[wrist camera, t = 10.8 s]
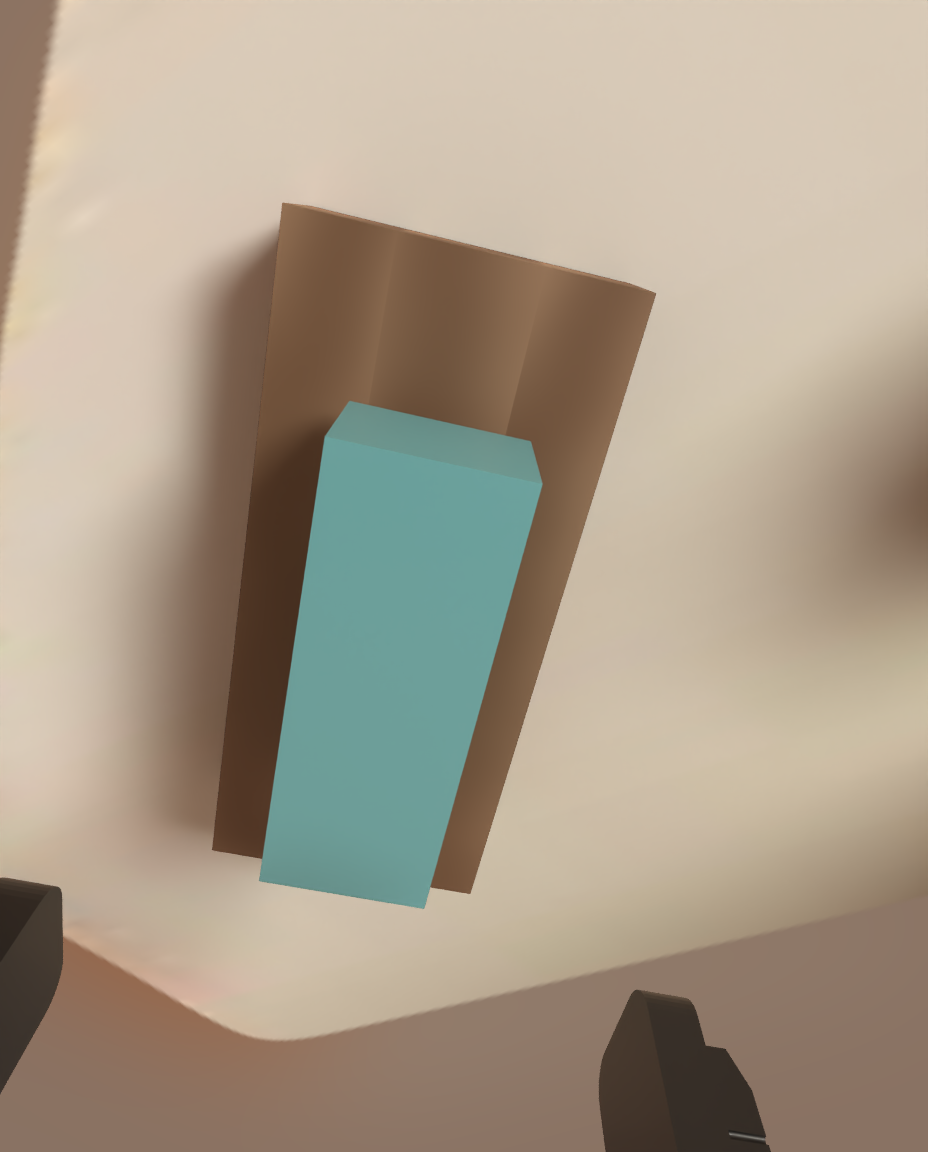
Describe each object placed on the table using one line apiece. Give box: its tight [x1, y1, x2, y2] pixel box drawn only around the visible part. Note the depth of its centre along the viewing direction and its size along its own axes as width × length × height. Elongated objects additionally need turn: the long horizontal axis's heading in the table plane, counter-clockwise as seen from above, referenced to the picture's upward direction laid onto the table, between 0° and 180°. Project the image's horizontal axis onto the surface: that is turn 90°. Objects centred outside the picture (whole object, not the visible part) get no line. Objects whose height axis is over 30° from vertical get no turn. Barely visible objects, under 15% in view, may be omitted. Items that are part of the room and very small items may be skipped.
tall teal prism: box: [259, 401, 542, 909], centre depth 19 cm, size 4×11×7 cm, turn 168°
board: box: [212, 203, 656, 894], centre depth 21 cm, size 8×18×3 cm, turn 167°
